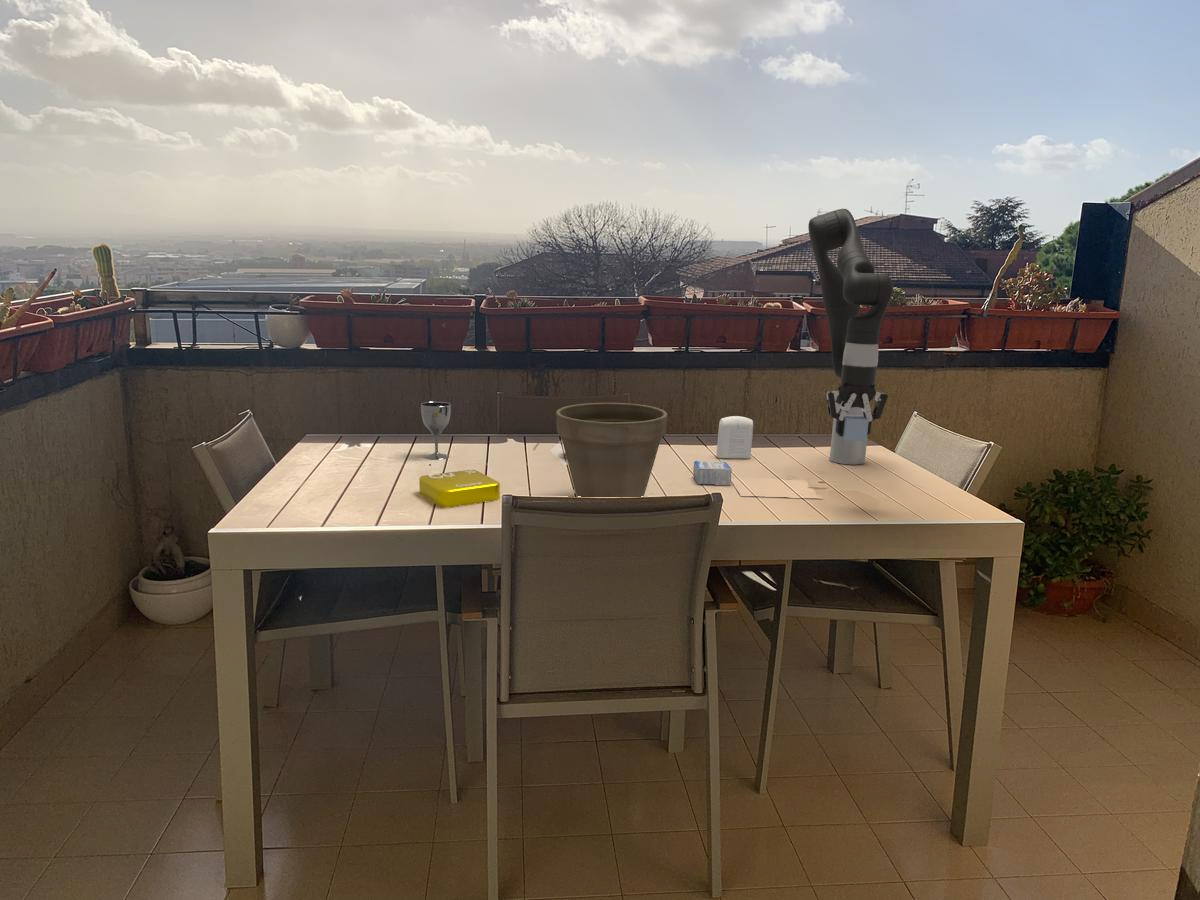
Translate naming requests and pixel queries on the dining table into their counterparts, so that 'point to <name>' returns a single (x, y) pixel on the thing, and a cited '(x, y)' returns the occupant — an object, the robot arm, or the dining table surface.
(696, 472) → the medicine box
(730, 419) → the photo printer
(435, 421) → the wine glass
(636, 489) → the plant pot
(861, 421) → the slate-blue cube
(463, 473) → the element tile
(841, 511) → the dining table surface
